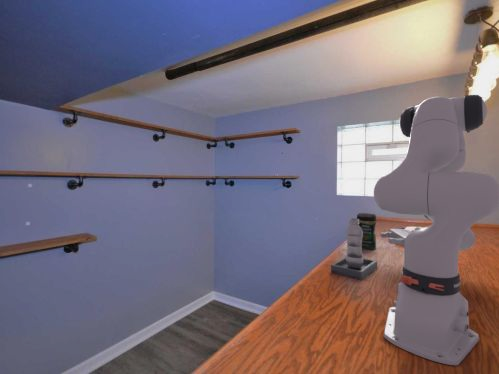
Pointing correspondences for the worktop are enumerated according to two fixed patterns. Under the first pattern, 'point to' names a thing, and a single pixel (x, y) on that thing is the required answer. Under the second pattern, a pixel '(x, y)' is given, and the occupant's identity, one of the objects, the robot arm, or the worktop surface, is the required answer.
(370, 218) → the coffee jar
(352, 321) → the worktop surface
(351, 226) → the plastic bottle
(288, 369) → the worktop surface
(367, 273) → the serving tray
